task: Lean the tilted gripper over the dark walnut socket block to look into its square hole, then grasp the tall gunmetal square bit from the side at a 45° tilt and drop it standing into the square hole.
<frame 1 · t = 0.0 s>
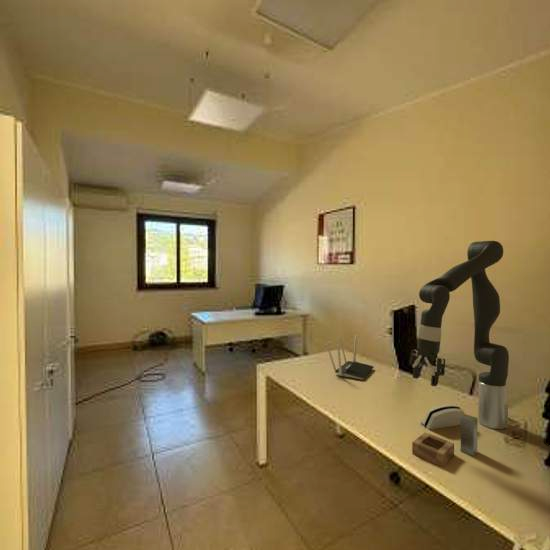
hand: (424, 381, 118), 22 cm above the table, fingers open, 8 cm apart
square bit: (468, 451, 112), on the table
wireless router: (350, 372, 197), on the table
white rounded block: (443, 426, 130), on the table
socket block: (433, 454, 110), on the table
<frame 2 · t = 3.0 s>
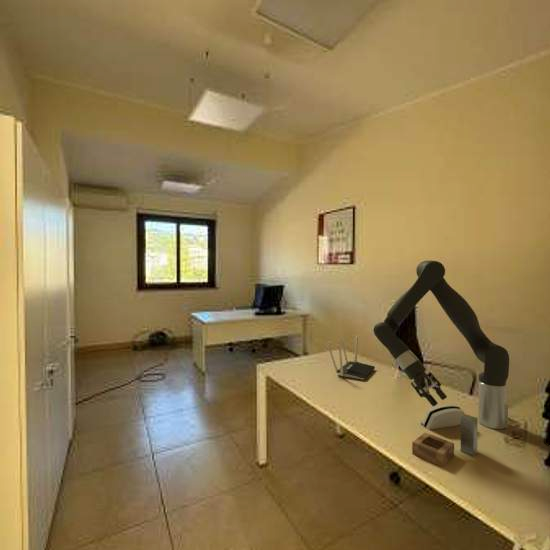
hand: (440, 401, 119), 15 cm above the table, fingers open, 8 cm apart
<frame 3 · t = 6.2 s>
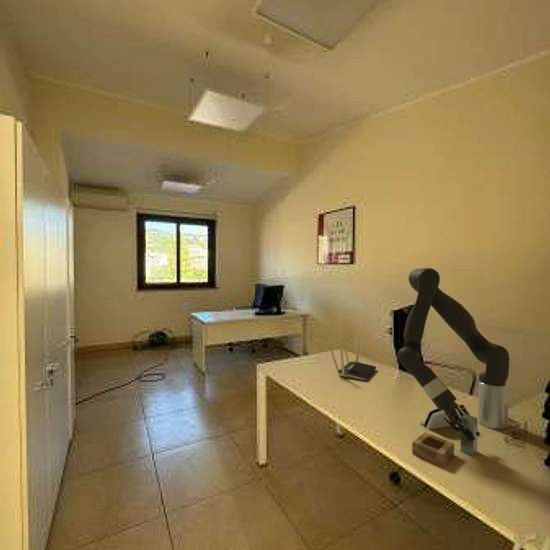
hand: (475, 437, 110), 6 cm above the table, fingers closed on square bit, 4 cm apart
square bit: (468, 451, 112), on the table, touching gripper
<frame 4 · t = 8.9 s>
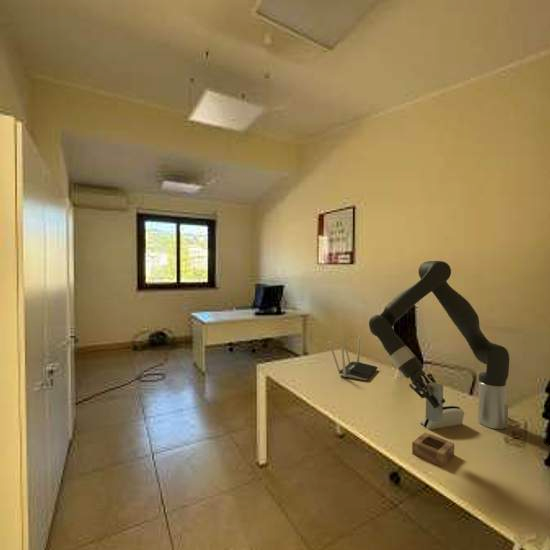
hand: (440, 404, 108), 18 cm above the table, fingers closed on square bit, 4 cm apart
square bit: (434, 418, 110), point 12 cm above the table, touching gripper
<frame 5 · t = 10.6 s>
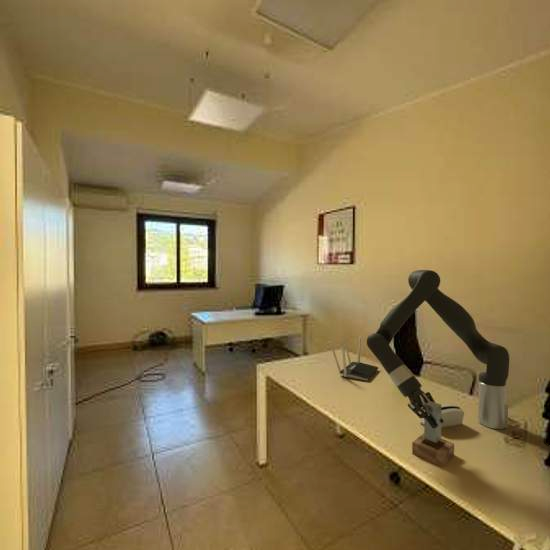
hand: (438, 424, 109), 11 cm above the table, fingers closed on square bit, 4 cm apart
square bit: (432, 438, 110), point 5 cm above the table, touching gripper
when the fingers open (7 cm above the table, at t = 11.9 s): square bit drops 1 cm, resting in socket block.
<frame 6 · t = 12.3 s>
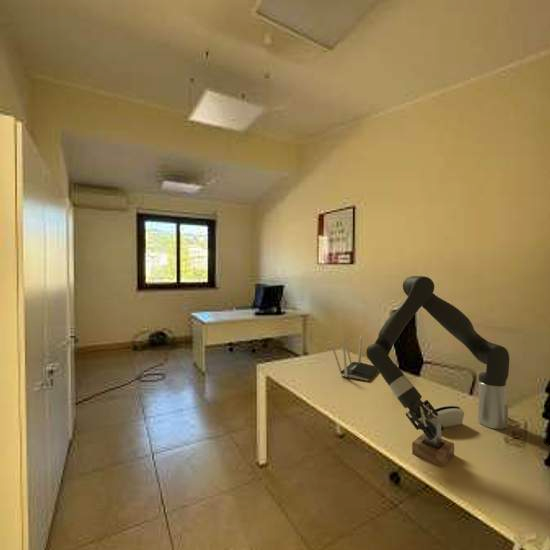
hand: (437, 434, 109), 8 cm above the table, fingers open, 7 cm apart
square bit: (432, 454, 110), resting in socket block
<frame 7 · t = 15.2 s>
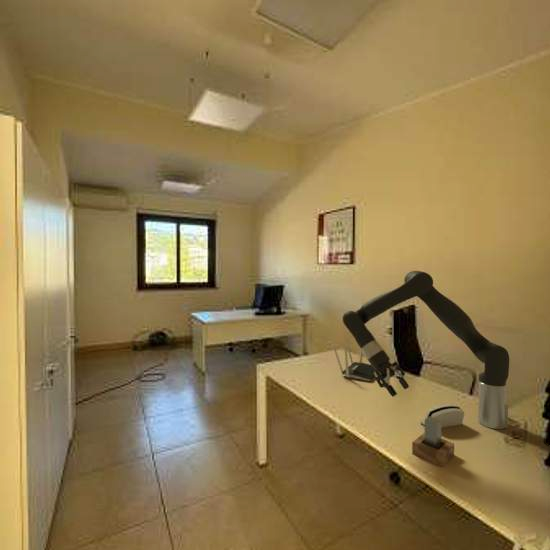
hand: (401, 391, 120), 18 cm above the table, fingers open, 8 cm apart
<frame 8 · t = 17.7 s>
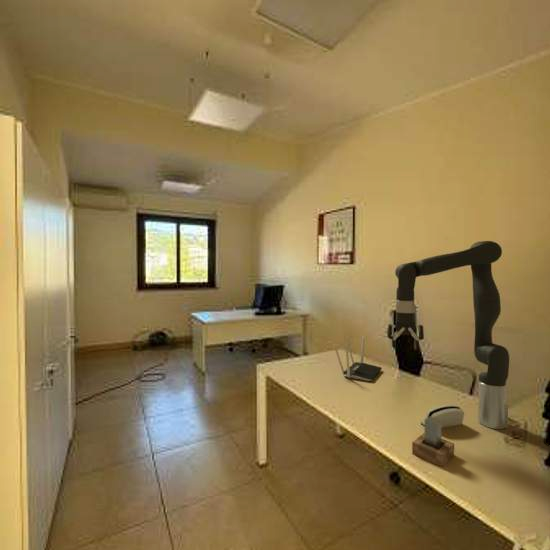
hand: (405, 348, 135), 30 cm above the table, fingers open, 8 cm apart
at the end: square bit 0.1 cm from the socket block (horizontally); square bit resting in socket block; square bit tilted 0° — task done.
